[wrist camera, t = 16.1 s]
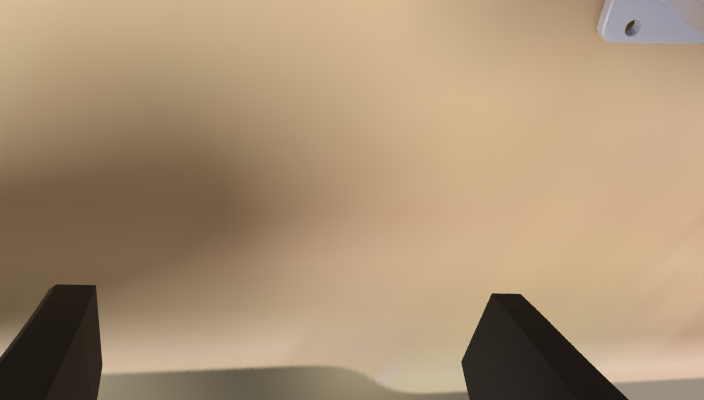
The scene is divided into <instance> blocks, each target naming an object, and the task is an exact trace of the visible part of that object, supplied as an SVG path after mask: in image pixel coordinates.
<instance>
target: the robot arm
mask: <svg viewBox="0 0 704 400" xmlns="http://www.w3.org/2000/svg"><path fill="white" fill-rule="evenodd" d="M633 20H634V25H633V26H632V28H631V29H629V30H628V31H625V28H626V26H627V24H628V23H629V22H631V21H633ZM597 31H598V34H599V36H600V37H602V38H603V39H604V40H605V41H607V42H610V43H689V44H704V0H605V3H604V6H603V10H602V13H601V16H600V19H599V22H598V27H597ZM461 363H462V367H463V372H464V377H465V381H466V386H467V390H468V394H469V398H470V400H628V399H627V398H626V397H625V396H624V395H623V394H622V393H621V392H620V391H619V390H618V389H617V388H615V386H614V385H613V384H611V383H610V382H609V381H608V380H607V379H606V378H605V377H604V376H603V375H602V374H601V373H600V372H599V371H598V370H597V369H596V368H595V367H594V366H593V365H592V364H591V363H590V362H589V361H588V360H587V359H586V358H585V357H584V356H583V355H582V354H581V353H580V352H579V351H578V350H577V349H576V348H575V347H574V346H573V345H572V344H571V343H570V342H569V341H568V340H567V339H566V338H565V337H564V336H563V335H562V334H561V333H560V332H559V331H558V330H557V329H556V328H555V327H554V326H553V325H552V324H551V323H550V322H549V321H548V320H547V319H546V318H545V317H544V316H543V315H542V314H541V313H540V312H539V311H538V310H537V309H536V308H535V307H534V306H532V305H531V304H530V303H529V302H528V301H527V300H526V299H525V298H524V297H523V296H522V295H521V294H495V293H492V294H491V297H490V299H489V301H488V303H487V306H486V308H485V310H484V312H483V315H482V317H481V319H480V321H479V324H478V326H477V328H476V330H475V332H474V335H473V337H472V339H471V341H470V344H469V346H468V348H467V350H466V353H465V355H464V357H463V359H462V362H461ZM101 371H102V355H101V343H100V330H99V318H98V306H97V293H96V285H55V286H53V287H52V288H51V289H49V291H48V292H47V294H46V295H45V297H44V298H43V300H42V301H41V303H40V304H39V306H38V307H37V309H36V310H35V311H34V313H33V314H32V316H31V317H30V319H29V320H28V321H27V323H26V324H25V325H24V327H23V328H22V330H21V331H20V332H19V334H18V335H17V336H16V338H15V339H14V340H13V341H12V343H11V344H10V345H9V347H8V348H7V349H6V351H5V352H4V353H3V355H2V356H1V357H0V400H97V396H98V390H99V384H100V377H101Z"/></svg>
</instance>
